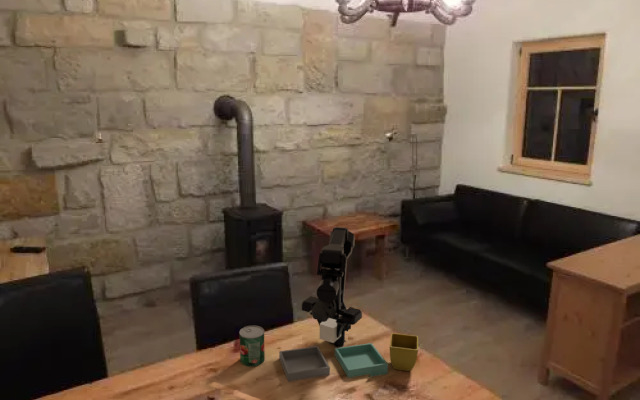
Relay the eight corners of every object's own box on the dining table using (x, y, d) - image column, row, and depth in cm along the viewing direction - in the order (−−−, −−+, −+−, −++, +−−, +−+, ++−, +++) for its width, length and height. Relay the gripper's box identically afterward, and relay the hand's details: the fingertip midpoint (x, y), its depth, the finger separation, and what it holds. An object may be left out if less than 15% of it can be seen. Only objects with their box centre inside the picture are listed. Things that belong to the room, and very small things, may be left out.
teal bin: (334, 357, 155) (334, 348, 154) (371, 352, 159) (371, 342, 158) (348, 380, 143) (348, 370, 142) (387, 373, 147) (387, 363, 146)
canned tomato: (269, 362, 152) (269, 331, 150) (250, 372, 146) (250, 340, 144) (254, 353, 157) (253, 323, 155) (235, 362, 152) (234, 331, 149)
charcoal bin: (279, 361, 153) (279, 351, 152) (317, 355, 156) (317, 345, 156) (288, 384, 141) (288, 373, 140) (329, 377, 144) (329, 367, 144)
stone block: (319, 338, 146) (319, 324, 145) (327, 331, 151) (327, 317, 150) (333, 343, 144) (333, 328, 143) (341, 336, 148) (341, 321, 147)
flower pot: (416, 376, 146) (418, 349, 144) (388, 372, 147) (389, 346, 146) (416, 360, 154) (418, 335, 152) (389, 357, 156) (391, 332, 154)
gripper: (291, 291, 141) (291, 338, 145) (346, 305, 132) (344, 355, 136) (310, 278, 151) (310, 323, 154) (363, 291, 142) (361, 338, 145)
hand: (330, 334), depth 147 cm, fingers closed on stone block, 5 cm apart
